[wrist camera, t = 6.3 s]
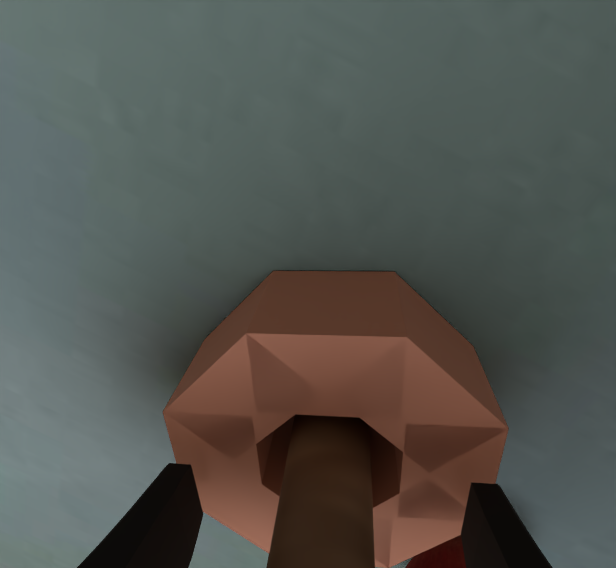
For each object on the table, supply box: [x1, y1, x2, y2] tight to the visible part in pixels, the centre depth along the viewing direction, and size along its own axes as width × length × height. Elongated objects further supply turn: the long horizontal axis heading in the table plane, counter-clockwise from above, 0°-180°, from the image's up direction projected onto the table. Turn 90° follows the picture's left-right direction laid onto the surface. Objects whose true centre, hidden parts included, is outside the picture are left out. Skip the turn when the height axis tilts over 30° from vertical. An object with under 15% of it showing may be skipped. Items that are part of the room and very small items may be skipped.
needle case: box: [267, 414, 375, 568], centre depth 11 cm, size 2×2×8 cm
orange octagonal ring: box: [163, 271, 509, 568], centre depth 13 cm, size 9×9×4 cm
